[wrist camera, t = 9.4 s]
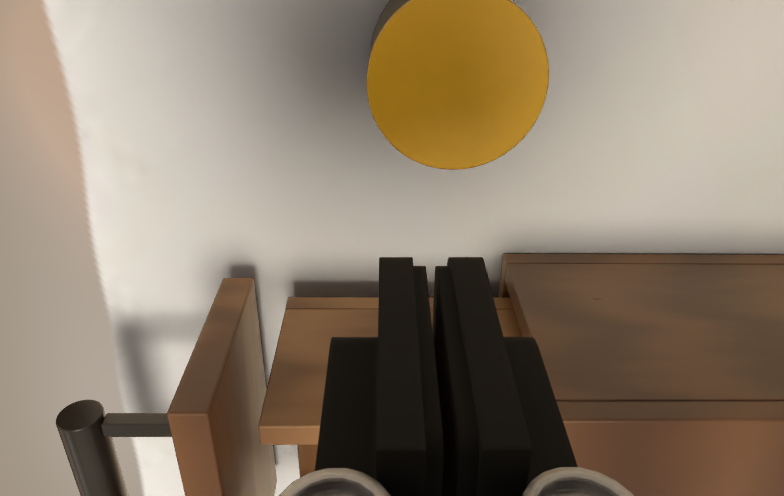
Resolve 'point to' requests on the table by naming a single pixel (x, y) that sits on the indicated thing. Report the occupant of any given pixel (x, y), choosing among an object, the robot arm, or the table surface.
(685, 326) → the cabinet
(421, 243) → the table surface
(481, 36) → the jar
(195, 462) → the drawer
